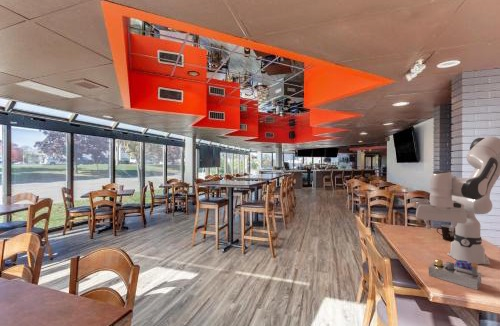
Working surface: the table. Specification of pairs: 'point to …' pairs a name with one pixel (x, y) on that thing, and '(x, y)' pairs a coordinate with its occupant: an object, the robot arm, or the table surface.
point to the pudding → (463, 265)
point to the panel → (456, 276)
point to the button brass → (438, 263)
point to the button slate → (450, 266)
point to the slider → (474, 269)
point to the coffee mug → (447, 233)
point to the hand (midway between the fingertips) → (439, 229)
